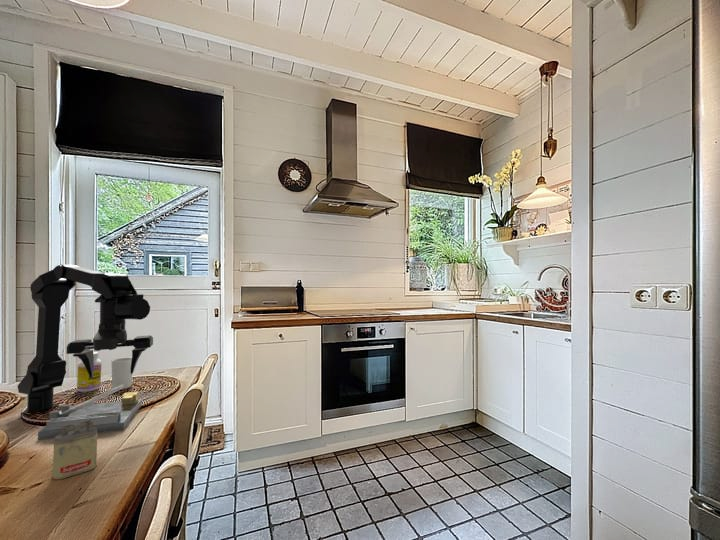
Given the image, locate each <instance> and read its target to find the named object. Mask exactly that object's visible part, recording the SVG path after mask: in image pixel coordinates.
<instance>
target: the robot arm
mask: <svg viewBox="0 0 720 540" xmlns="http://www.w3.org/2000/svg"><path fill="white" fill-rule="evenodd" d="M76 283H79V284H82V285H87V286H88V287H89V286H90V287H91V290H92V291H94V292H96V293H97V294H99V296H98V297H96V298H95V300H94V302H95V303H97V304H98V303H99V324H98V330H97V332H96V333H95V335H94V337H93V338H91V339H88V338H87V339H75V340H73V341H71V342H69V343H68V344H67V345H66V355H70V354H71V355H72V357H75V358H78V359H80V361H82V362H83V363H84V365H85V367H86V370H87V372H88V374H89V376H90V378H92V377H93V374H94V360H93V352H99V351H104V350H109V351H112V350H115V349H117V348H123V347H133V349H132V350H131V357H132V361H131V374H132V375H133V374H134V371H135V369H136V367H137V364H138V361H139V360H140V357H141V355H142V353H143V352H145V351H146V350H147V349H149V348H151V347H152V346H153V345H154V337H153V336H152V335H137V336H135V337H134V338H133V339H132V338H130V339H128V332H127V330H126V325H127V324H126V323H127V322H126V320H144V319H146V318H147V317H148V315H149V314H150V312H151V306H150V304H149V302H148V301H147V299H146V298H144V294H142V293H141V294H140V293H139V294H138V292H137V290H136V289H135V287H134V284H133V283H132V281H131V280H130V279H129V276H128V275H127V274H126V273H104V272H100V271H96V270H92V269H89V268H85V267H82V266H79V265H76V264H59V265H56V266H54V268H53V269H51V270H49V271H46V272H45V273H41V274H40V275H38V276H37V277H36V279H34V280H33V281H32V282H31V283H30V288H29V289H30V292H31V299H32V301H33V302H34V304H35V305H36V306H37V307H38V312H37V313H38V314H37V316H38V317H37V327H36V328H37V329H36V330H37V331H36V348H35V349H36V350H35V356H34V358H33V359H31V362H30V363H29V364H28V365H27V370H26V374H25V375H24V377H23V378H22V379H21V381H20V382H18V384H17V390H18V393H19V394H24V395H27V399H26V400H27V401H26V403H27V404H26V409H25V410H23V411H22V412H21V413H20V415H21V416H23V415H22V414H24V415H27V414H26V413H34V414H38V413H37V412H45V413H48V412H47V411H49V412H51V411H52V410H53V409H55V408H56V407H57V406H58V405H59V403H56V402H55V403H54V388H57V387H62V386H63V384H64V379H65V377H66V374H67V371H66V370H67V368H66V367H67V361H66V360H65V359H62V358H61V357H60V355H59V347H60V346H59V345H60V344H59V343H60V326H61V310H62V309H61V308H62V306H64V304H65V303H66V301H67V300H68V299H69V296H70V291H71V290H72V289H73V288H74V287H75V286H77V284H76ZM55 406H56V407H55ZM54 407H55V408H54ZM51 409H52V410H51Z"/></svg>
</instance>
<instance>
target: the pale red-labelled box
mask: <svg viewBox="0 0 720 540" xmlns="http://www.w3.org/2000/svg"><path fill="white" fill-rule="evenodd" d="M83 423H86V424H83ZM70 426H71V427H70ZM92 426H93V422H92V419H89V420H87V421H85V422H81V423H77V424H72V425H65V426H62V430H63V431H62V432H63V433H62V434H59V435H57V436H56V437H55V438H53V439H54V440H53V441H54V443H53V455H52V456H53V457H52V458H53V459H52V461H53V463H52V476H51V478H52V479H53V480H63V479H65V478H69V477H72V476H76V475H79V474H83V473H85V472H89V471H91V470H93V469H95V468H96V467H97V466H98V465H97V464H98V463H97V458H98V457H97V455H98V433H97V428H96V427H92ZM84 427H87V428H84ZM81 428H83V429H81ZM71 430H73V431H71ZM68 431H70V432H68Z"/></svg>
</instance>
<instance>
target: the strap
mask: <svg viewBox="0 0 720 540" xmlns="http://www.w3.org/2000/svg"><path fill="white" fill-rule="evenodd" d="M123 387H124V384H121V385H119V386H117V387H115V388H111V389H109V390H106V391H105V392H103V393H100V394H98V395H96V396H94V397H92V398H90V399H88V400H85V401H83V402H81V403H79V404H77V406H75V407H73V408H71V409H68V410H66V411H64V412H61V418H62V417H64V416H66V415H68V414H70V413H73V412H75V411H77V410H79V409H81V408H83V407H85V406H87V405H89V404H95V403H96V402H98V401H99V400H101V399H104V398H107V397H108V396H110V395H112V394H114V393H116V392H119V391H120V390H123V389H122V388H123Z"/></svg>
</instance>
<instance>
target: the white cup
mask: <svg viewBox="0 0 720 540" xmlns="http://www.w3.org/2000/svg"><path fill="white" fill-rule="evenodd" d="M131 361H132V356H128V357H127V356H124V357H118V358H113V359H112V360H111V389H113V388H115V387H117V386H119V385H121V384H124V387H123V388H122V389H121V390H123V389H128V388H131V387H132V383H133V374H131Z"/></svg>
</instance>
